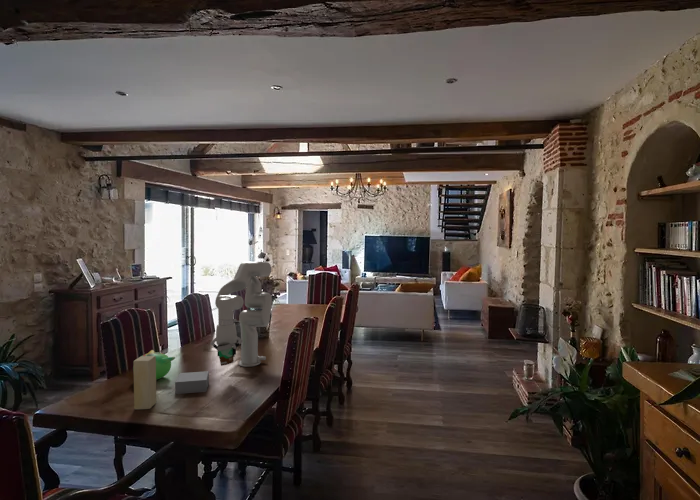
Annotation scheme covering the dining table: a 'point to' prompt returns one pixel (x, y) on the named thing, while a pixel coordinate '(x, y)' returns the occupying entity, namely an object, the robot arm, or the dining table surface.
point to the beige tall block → (144, 382)
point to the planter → (238, 330)
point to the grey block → (192, 382)
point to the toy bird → (160, 363)
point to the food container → (226, 354)
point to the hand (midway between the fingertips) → (226, 356)
